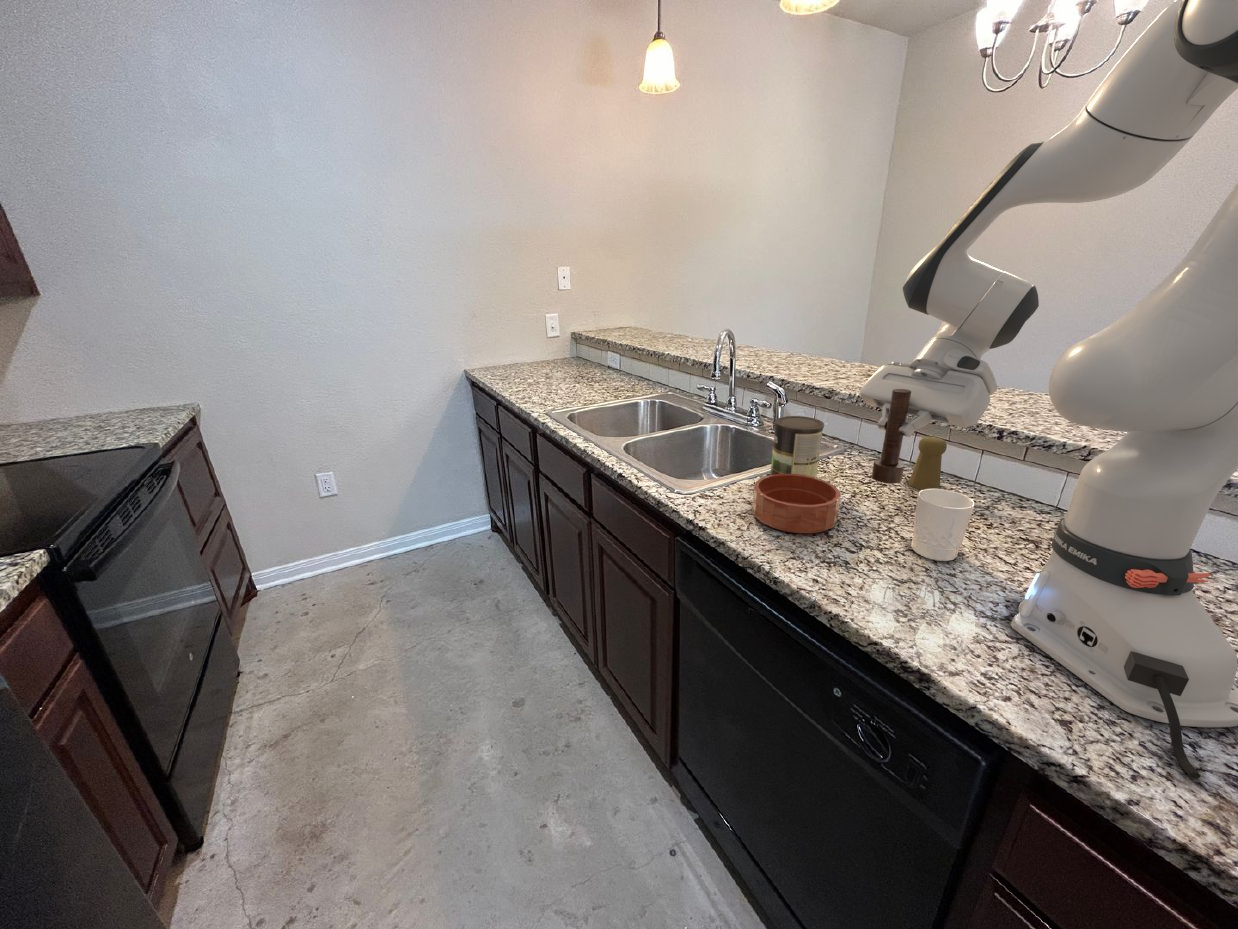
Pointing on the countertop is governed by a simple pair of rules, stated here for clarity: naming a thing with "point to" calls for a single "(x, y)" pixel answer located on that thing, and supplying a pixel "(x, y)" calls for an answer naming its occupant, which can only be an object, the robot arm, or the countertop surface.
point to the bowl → (796, 503)
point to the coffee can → (796, 445)
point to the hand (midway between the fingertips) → (892, 431)
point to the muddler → (893, 440)
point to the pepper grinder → (928, 464)
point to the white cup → (940, 523)
